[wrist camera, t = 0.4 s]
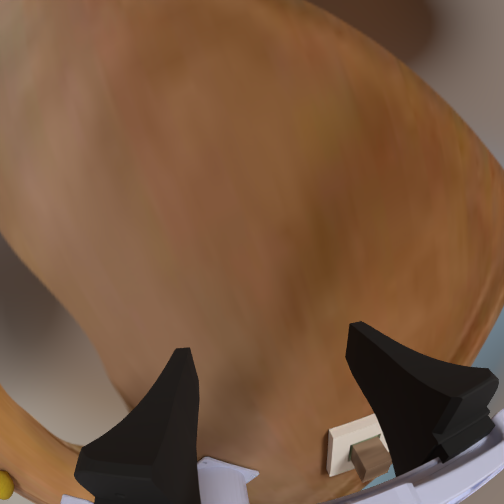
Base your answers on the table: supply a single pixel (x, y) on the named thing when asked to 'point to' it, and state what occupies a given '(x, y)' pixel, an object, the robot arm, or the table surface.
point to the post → (370, 458)
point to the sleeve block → (350, 442)
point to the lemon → (6, 485)
